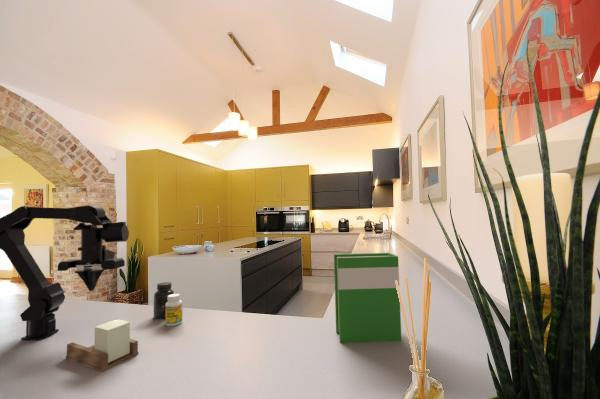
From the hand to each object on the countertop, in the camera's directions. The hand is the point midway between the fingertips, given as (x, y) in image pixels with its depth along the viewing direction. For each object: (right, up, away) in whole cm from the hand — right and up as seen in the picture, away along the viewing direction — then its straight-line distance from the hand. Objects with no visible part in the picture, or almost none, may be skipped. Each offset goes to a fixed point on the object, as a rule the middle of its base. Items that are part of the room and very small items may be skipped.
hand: (91, 290), depth 92 cm
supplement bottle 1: (+18, -14, +11) cm, 25 cm away
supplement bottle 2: (+25, -13, +4) cm, 29 cm away
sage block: (+20, -12, -19) cm, 30 cm away
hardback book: (+89, -11, -9) cm, 90 cm away
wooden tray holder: (+16, -12, -18) cm, 27 cm away
